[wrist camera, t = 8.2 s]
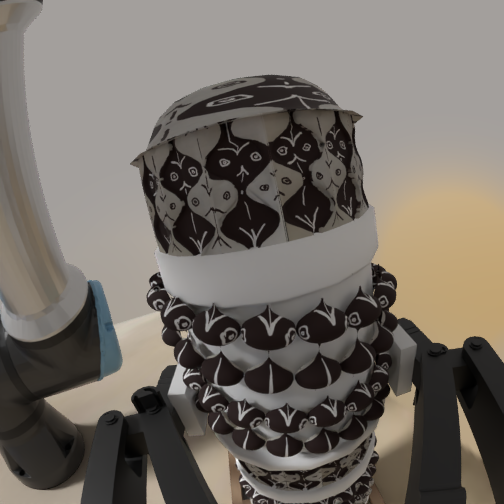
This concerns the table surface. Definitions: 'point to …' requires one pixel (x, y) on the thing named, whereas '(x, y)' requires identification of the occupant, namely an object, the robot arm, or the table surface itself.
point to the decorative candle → (273, 283)
